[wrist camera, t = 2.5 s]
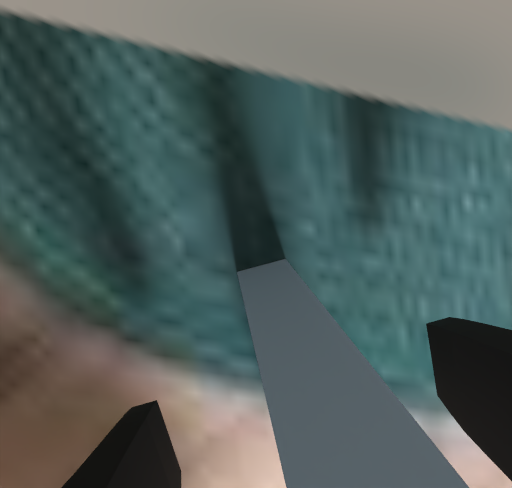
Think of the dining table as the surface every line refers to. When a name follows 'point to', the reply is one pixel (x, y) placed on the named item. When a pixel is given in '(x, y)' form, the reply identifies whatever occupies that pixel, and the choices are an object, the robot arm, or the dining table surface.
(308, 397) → the slate domino
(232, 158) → the dining table surface
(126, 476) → the robot arm
